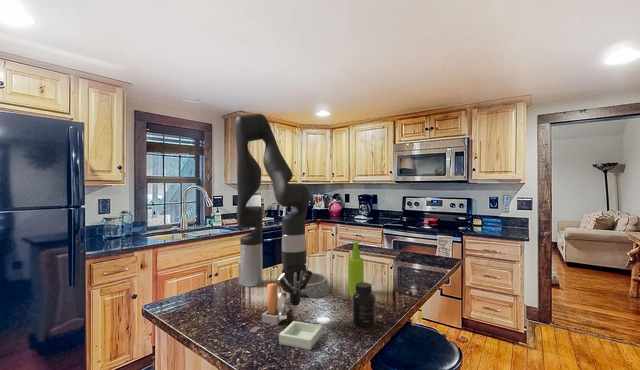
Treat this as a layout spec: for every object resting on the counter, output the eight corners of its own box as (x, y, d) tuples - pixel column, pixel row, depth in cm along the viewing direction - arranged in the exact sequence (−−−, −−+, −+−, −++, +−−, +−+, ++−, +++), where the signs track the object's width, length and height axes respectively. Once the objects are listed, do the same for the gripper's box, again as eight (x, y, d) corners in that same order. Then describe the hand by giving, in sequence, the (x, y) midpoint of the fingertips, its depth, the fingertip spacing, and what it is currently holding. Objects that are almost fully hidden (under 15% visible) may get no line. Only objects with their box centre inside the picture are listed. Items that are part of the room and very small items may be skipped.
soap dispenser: (366, 290, 124) (365, 240, 124) (361, 295, 118) (360, 243, 118) (352, 288, 127) (352, 239, 127) (346, 293, 121) (346, 242, 121)
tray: (278, 344, 82) (278, 334, 82) (293, 329, 91) (293, 320, 91) (310, 350, 79) (310, 340, 79) (322, 334, 88) (322, 325, 88)
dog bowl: (325, 300, 114) (324, 285, 114) (277, 297, 118) (277, 283, 118) (332, 285, 131) (332, 273, 131) (290, 283, 135) (290, 271, 135)
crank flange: (241, 329, 91) (241, 326, 91) (274, 305, 109) (274, 302, 109) (262, 333, 88) (262, 330, 88) (292, 308, 106) (292, 305, 106)
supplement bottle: (350, 319, 97) (350, 281, 97) (372, 318, 98) (371, 280, 98) (355, 329, 90) (354, 288, 90) (378, 328, 91) (377, 287, 91)
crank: (272, 305, 106) (272, 280, 106) (284, 304, 107) (283, 280, 107) (276, 324, 91) (276, 296, 91) (289, 323, 92) (289, 294, 92)
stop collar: (261, 322, 96) (261, 314, 96) (270, 315, 101) (270, 308, 101) (276, 324, 94) (276, 317, 94) (284, 317, 99) (284, 310, 99)
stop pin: (265, 321, 96) (265, 285, 96) (270, 317, 99) (270, 282, 99) (274, 322, 95) (274, 286, 95) (279, 318, 98) (278, 283, 98)
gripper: (283, 254, 88) (285, 314, 88) (318, 246, 97) (319, 302, 97) (269, 250, 94) (270, 307, 94) (302, 243, 103) (303, 296, 103)
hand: (295, 304), depth 96 cm, fingers closed
